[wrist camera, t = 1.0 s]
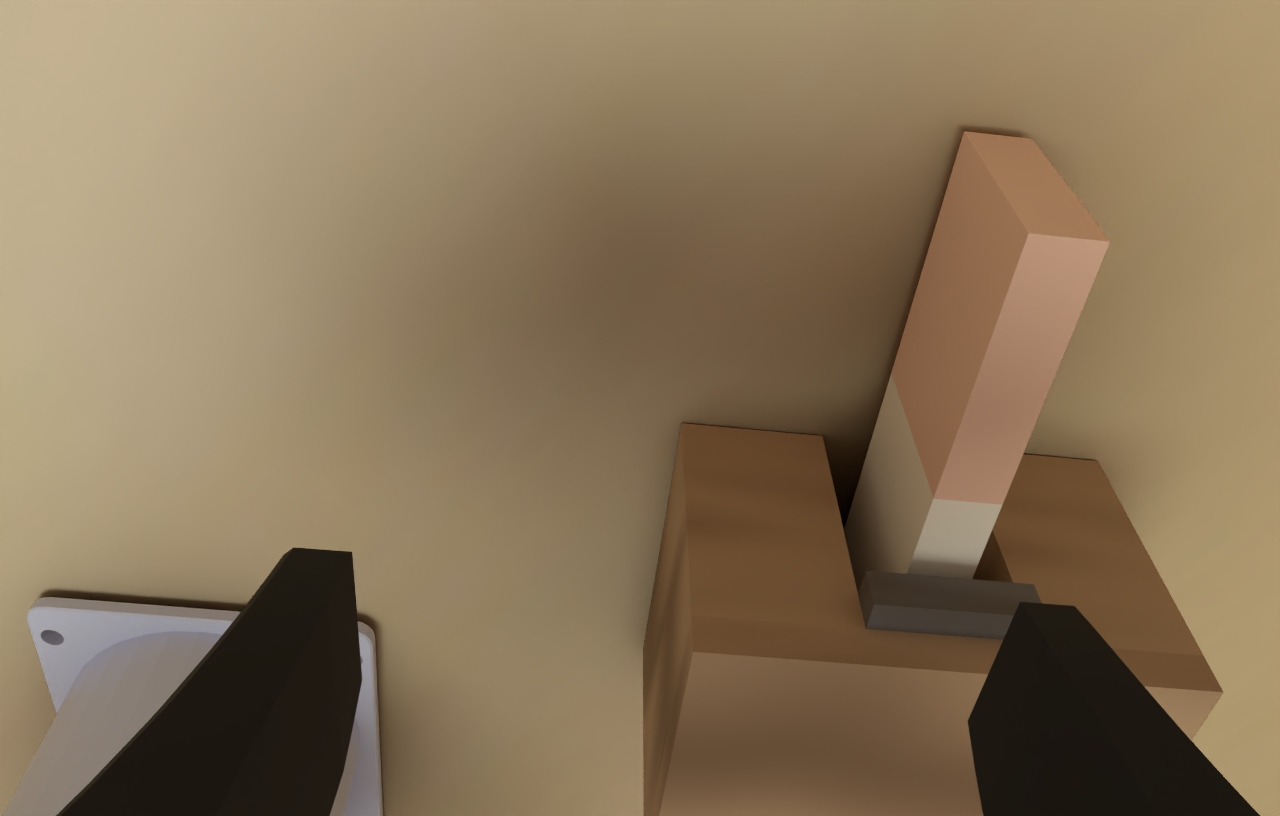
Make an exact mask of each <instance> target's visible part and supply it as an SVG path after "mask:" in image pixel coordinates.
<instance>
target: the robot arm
mask: <svg viewBox="0 0 1280 816" xmlns="http://www.w3.org/2000/svg"><path fill="white" fill-rule="evenodd" d="M27 622H28V625H29V628H30V631H31V635H32V638H33V641H34V644H35V647H36V650H37V654H38V657H39V660H40V663H41V666H42V669H43V673H44V676H45V679H46V682H47V685H48V688H49V692H50V695H51V698H52V701H53V704H54V707H55V710H56V716H55V718H54V720H53V721H52V723H51V725H50V727H49V729H48V731H47V733H46V735H45V736H44V738H43V740H42V742H41V744H40V746H39V748H38V750H37V751H36V753H35V755H34V757H33V759H32V761H31V763H30V765H29V766H28V768H27V770H26V772H25V774H24V776H23V778H22V780H21V781H20V783H19V785H18V787H17V789H16V791H15V793H14V795H13V796H12V798H11V800H10V802H9V804H8V806H7V808H6V810H5V811H4V813H3V815H2V816H383V803H382V781H381V758H380V736H379V713H378V691H377V669H376V646H375V635H374V632H373V630H372V629H371V628H370V627H369V626H368V625H366V624H364V623H362V622H359V621H358V620H357V608H356V595H355V583H354V570H353V558H352V552H345V551H332V550H318V549H305V548H293V549H291V550H290V551H288V552H287V553H286V554H284V555H283V557H282V558H281V559H280V561H279V562H278V563H277V565H276V566H275V568H274V569H273V570H272V572H271V573H270V574H269V576H268V577H267V578H266V580H265V581H264V582H263V584H262V585H261V586H260V588H259V589H258V590H257V592H256V593H255V594H254V596H253V597H252V598H251V600H250V601H249V602H248V603H247V605H246V606H245V607H244V609H243V610H242V611H241V612H239V611H226V610H213V609H200V608H187V607H174V606H161V605H148V604H135V603H122V602H109V601H96V600H83V599H70V598H57V597H44V598H40V599H38V600H36V601H35V602H34V603H33V605H32V606H31V608H30V610H29V611H28V613H27ZM968 727H969V734H970V741H971V747H972V754H973V760H974V767H975V773H976V779H977V784H978V790H979V795H980V801H981V806H982V812H983V815H984V816H1260V815H1259V814H1258V813H1257V812H1256V811H1255V810H1254V809H1253V808H1252V807H1251V806H1250V805H1249V803H1248V802H1247V801H1246V800H1245V799H1244V798H1243V797H1242V796H1241V795H1240V794H1239V793H1238V792H1237V791H1236V790H1235V789H1234V787H1233V786H1232V785H1231V784H1230V783H1229V782H1228V781H1227V780H1226V779H1225V778H1224V777H1223V775H1222V774H1221V773H1220V772H1219V771H1218V770H1217V769H1216V768H1215V767H1214V766H1213V765H1212V763H1211V762H1210V761H1209V760H1208V759H1207V758H1206V757H1205V756H1204V754H1203V753H1202V752H1201V751H1200V750H1199V749H1198V748H1197V747H1196V746H1195V744H1194V743H1193V742H1192V741H1191V740H1190V739H1189V738H1188V736H1187V735H1186V734H1185V733H1184V732H1183V731H1182V730H1181V728H1180V727H1179V726H1178V725H1177V724H1176V723H1175V722H1174V720H1173V719H1172V718H1171V717H1170V716H1169V715H1168V714H1167V712H1166V711H1165V710H1164V709H1163V708H1162V707H1161V705H1160V704H1159V703H1158V702H1157V701H1156V700H1155V698H1154V697H1153V696H1152V695H1151V694H1150V693H1149V692H1148V690H1147V689H1146V688H1145V687H1144V686H1143V685H1142V683H1141V682H1140V681H1139V680H1138V679H1137V678H1136V676H1135V675H1134V674H1133V673H1132V672H1131V670H1130V669H1129V668H1128V667H1127V666H1126V665H1125V663H1124V662H1123V661H1122V660H1121V659H1120V658H1119V656H1118V655H1117V654H1116V653H1115V652H1114V650H1113V649H1112V648H1111V647H1110V646H1109V645H1108V643H1107V642H1106V641H1105V640H1104V639H1103V638H1102V636H1101V635H1100V634H1099V633H1098V632H1097V631H1096V629H1095V628H1094V627H1093V626H1092V625H1091V624H1090V623H1089V621H1088V620H1087V619H1086V618H1085V617H1084V616H1083V615H1082V614H1081V612H1080V611H1079V610H1078V609H1077V608H1076V607H1075V606H1070V605H1056V604H1043V603H1030V602H1020V603H1019V605H1018V607H1017V610H1016V612H1015V614H1014V617H1013V619H1012V621H1011V623H1010V626H1009V628H1008V630H1007V633H1006V635H1005V637H1004V639H1003V642H1002V644H1001V646H1000V648H999V651H998V653H997V655H996V658H995V660H994V662H993V664H992V667H991V669H990V671H989V673H988V676H987V678H986V680H985V683H984V685H983V687H982V689H981V692H980V694H979V696H978V698H977V701H976V703H975V705H974V708H973V710H972V712H971V714H970V717H969V719H968Z"/></svg>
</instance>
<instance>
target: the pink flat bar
mask: <svg viewBox="0 0 1280 816" xmlns="http://www.w3.org/2000/svg"><path fill="white" fill-rule="evenodd" d="M1109 244H1110V241H1109V240H1108V238H1107V237H1106V236H1105V234H1104V233H1103V232H1102V230H1101V229H1100V228H1099V226H1098V225H1097V224H1096V222H1095V221H1094V220H1093V218H1092V217H1091V216H1090V214H1089V213H1088V212H1087V211H1086V209H1085V208H1084V207H1083V205H1082V204H1081V203H1080V201H1079V200H1078V199H1077V197H1076V196H1075V195H1074V193H1073V192H1072V191H1071V189H1070V188H1069V187H1068V185H1067V184H1066V183H1065V181H1064V180H1063V179H1062V177H1061V176H1060V175H1059V173H1058V172H1057V171H1056V170H1055V168H1054V167H1053V166H1052V164H1051V163H1050V162H1049V160H1048V159H1047V158H1046V156H1045V155H1044V154H1043V152H1042V151H1041V150H1040V148H1039V147H1038V146H1037V144H1036V143H1035V142H1034V140H1033V139H1029V138H1020V137H1011V136H1001V135H992V134H983V133H974V132H965V131H964V133H963V137H962V140H961V143H960V147H959V150H958V153H957V157H956V160H955V163H954V167H953V170H952V173H951V177H950V180H949V183H948V187H947V190H946V193H945V196H944V200H943V203H942V206H941V210H940V213H939V216H938V220H937V223H936V226H935V230H934V233H933V236H932V240H931V243H930V246H929V250H928V253H927V256H926V260H925V263H924V266H923V269H922V273H921V276H920V279H919V283H918V286H917V289H916V293H915V296H914V299H913V303H912V306H911V309H910V313H909V316H908V319H907V323H906V326H905V329H904V333H903V336H902V339H901V342H900V346H899V349H898V352H897V356H896V359H895V362H894V366H893V369H892V372H891V376H890V379H889V382H888V386H887V389H886V392H885V396H884V399H883V402H882V406H881V409H880V412H879V415H878V419H877V422H876V425H875V429H874V432H873V435H872V439H871V442H870V445H869V449H868V452H867V455H866V459H865V462H864V465H863V469H862V472H861V475H860V479H859V482H858V485H857V488H856V492H855V495H854V498H853V502H852V505H851V508H850V512H849V515H848V518H847V522H846V525H845V528H844V534H845V539H846V543H847V547H848V552H849V556H850V561H851V565H852V570H853V574H854V579H855V583H856V588H857V592H858V594H859V591H860V587H861V584H862V581H863V578H864V575H865V572H866V570H867V571H879V572H891V573H903V574H915V575H927V576H939V577H952V578H964V579H972V578H973V576H974V573H975V571H976V568H977V566H978V563H979V561H980V558H981V556H982V554H983V551H984V549H985V546H986V544H987V541H988V539H989V537H990V534H991V532H992V529H993V527H994V524H995V522H996V519H997V517H998V515H999V512H1000V510H1001V507H1002V505H1003V502H1004V500H1005V497H1006V495H1007V493H1008V490H1009V488H1010V485H1011V483H1012V480H1013V478H1014V475H1015V473H1016V471H1017V468H1018V466H1019V463H1020V461H1021V458H1022V456H1023V454H1024V451H1025V449H1026V446H1027V444H1028V441H1029V439H1030V436H1031V434H1032V432H1033V429H1034V427H1035V424H1036V422H1037V419H1038V417H1039V414H1040V412H1041V410H1042V407H1043V405H1044V402H1045V400H1046V397H1047V395H1048V392H1049V390H1050V388H1051V385H1052V383H1053V380H1054V378H1055V375H1056V373H1057V371H1058V368H1059V366H1060V363H1061V361H1062V358H1063V356H1064V353H1065V351H1066V349H1067V346H1068V344H1069V341H1070V339H1071V336H1072V334H1073V331H1074V329H1075V327H1076V324H1077V322H1078V319H1079V317H1080V314H1081V312H1082V309H1083V307H1084V305H1085V302H1086V300H1087V297H1088V295H1089V292H1090V290H1091V288H1092V285H1093V283H1094V280H1095V278H1096V275H1097V273H1098V270H1099V268H1100V266H1101V263H1102V261H1103V258H1104V256H1105V253H1106V251H1107V248H1108V246H1109Z"/></svg>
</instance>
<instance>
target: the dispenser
mask: <svg viewBox="0 0 1280 816" xmlns="http://www.w3.org/2000/svg"><path fill="white" fill-rule="evenodd" d="M1020 602H1030V603H1043V604H1056V605H1070V606H1075V607H1076V608H1077V609H1078V610H1079V611H1080V612H1081V614H1082V615H1083V616H1084V617H1085V618H1086V619H1087V620H1088V621H1089V623H1090V624H1091V625H1092V626H1093V627H1094V628H1095V629H1096V631H1097V632H1098V633H1099V634H1100V635H1101V636H1102V638H1103V639H1104V640H1105V641H1106V642H1107V643H1108V645H1109V646H1110V647H1111V648H1112V649H1113V650H1114V652H1115V653H1116V654H1117V655H1118V656H1119V658H1120V659H1121V660H1122V661H1123V662H1124V663H1125V665H1126V666H1127V667H1128V668H1129V669H1130V670H1131V672H1132V673H1133V674H1134V675H1135V676H1136V678H1137V679H1138V680H1139V681H1140V682H1141V683H1142V685H1143V686H1144V687H1145V688H1146V689H1147V690H1148V692H1149V693H1150V694H1151V695H1152V696H1153V697H1154V698H1155V700H1156V701H1157V702H1158V703H1159V704H1160V705H1161V707H1162V708H1163V709H1164V710H1165V711H1166V712H1167V714H1168V715H1169V716H1170V717H1171V718H1172V719H1173V720H1174V722H1175V723H1176V724H1177V725H1178V726H1179V727H1180V728H1181V730H1182V731H1183V732H1184V733H1185V734H1186V735H1187V736H1188V738H1189V739H1190V740H1191V741H1192V740H1193V738H1194V736H1195V735H1196V733H1197V732H1198V730H1199V729H1200V727H1201V726H1202V724H1203V723H1204V721H1205V720H1206V718H1207V717H1208V715H1209V714H1210V712H1211V711H1212V709H1213V708H1214V706H1215V704H1216V703H1217V701H1218V700H1219V698H1220V697H1221V695H1222V694H1223V691H1222V689H1221V687H1220V685H1219V683H1218V681H1217V680H1216V678H1215V676H1214V674H1213V672H1212V670H1211V669H1210V667H1209V665H1208V663H1207V661H1206V659H1205V658H1204V656H1203V654H1202V652H1201V650H1200V648H1199V647H1198V645H1197V643H1196V641H1195V639H1194V637H1193V636H1192V634H1191V632H1190V630H1189V628H1188V626H1187V625H1186V623H1185V621H1184V619H1183V617H1182V615H1181V613H1180V612H1179V610H1178V608H1177V606H1176V604H1175V602H1174V601H1173V599H1172V597H1171V595H1170V593H1169V591H1168V590H1167V588H1166V586H1165V584H1164V582H1163V580H1162V579H1161V577H1160V575H1159V573H1158V571H1157V569H1156V568H1155V566H1154V564H1153V562H1152V560H1151V558H1150V557H1149V555H1148V553H1147V551H1146V549H1145V547H1144V545H1143V544H1142V542H1141V540H1140V538H1139V536H1138V534H1137V533H1136V531H1135V529H1134V527H1133V525H1132V523H1131V522H1130V520H1129V518H1128V516H1127V514H1126V512H1125V511H1124V509H1123V507H1122V505H1121V503H1120V501H1119V500H1118V498H1117V496H1116V494H1115V492H1114V490H1113V489H1112V487H1111V485H1110V483H1109V481H1108V479H1107V478H1106V476H1105V474H1104V472H1103V470H1102V468H1101V466H1100V465H1099V463H1098V461H1092V460H1081V459H1070V458H1059V457H1048V456H1037V455H1026V454H1023V456H1022V458H1021V461H1020V463H1019V466H1018V468H1017V471H1016V473H1015V475H1014V478H1013V480H1012V483H1011V485H1010V488H1009V490H1008V493H1007V495H1006V497H1005V500H1004V502H1003V505H1002V507H1001V510H1000V512H999V515H998V517H997V519H996V522H995V524H994V527H993V529H992V532H991V534H990V537H989V539H988V541H987V544H986V546H985V549H984V551H983V554H982V556H981V558H980V561H979V563H978V566H977V568H976V571H975V573H974V576H973V578H972V579H964V578H952V577H939V576H927V575H915V574H903V573H891V572H879V571H867V570H866V572H865V575H864V578H863V581H862V584H861V587H860V591H859V594H858V592H857V588H856V583H855V579H854V574H853V570H852V565H851V561H850V556H849V552H848V547H847V543H846V539H845V534H844V530H843V525H842V521H841V516H840V512H839V507H838V503H837V498H836V494H835V489H834V485H833V480H832V476H831V472H830V467H829V463H828V458H827V454H826V449H825V445H824V440H823V436H817V435H806V434H795V433H784V432H773V431H762V430H751V429H740V428H729V427H718V426H707V425H696V424H685V423H681V429H680V435H679V441H678V447H677V452H676V458H675V464H674V470H673V476H672V482H671V488H670V494H669V500H668V506H667V512H666V517H665V523H664V529H663V535H662V541H661V547H660V553H659V559H658V565H657V571H656V576H655V582H654V588H653V594H652V600H651V606H650V612H649V618H648V624H647V630H646V635H645V641H644V647H643V740H644V816H984V815H983V812H982V806H981V801H980V795H979V790H978V784H977V779H976V773H975V767H974V760H973V754H972V747H971V741H970V734H969V727H968V719H969V717H970V714H971V712H972V710H973V708H974V705H975V703H976V701H977V698H978V696H979V694H980V692H981V689H982V687H983V685H984V683H985V680H986V678H987V676H988V673H989V671H990V669H991V667H992V664H993V662H994V660H995V658H996V655H997V653H998V651H999V648H1000V646H1001V644H1002V642H1003V639H1004V637H1005V635H1006V633H1007V630H1008V628H1009V626H1010V623H1011V621H1012V619H1013V617H1014V614H1015V612H1016V610H1017V607H1018V605H1019V603H1020Z"/></svg>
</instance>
